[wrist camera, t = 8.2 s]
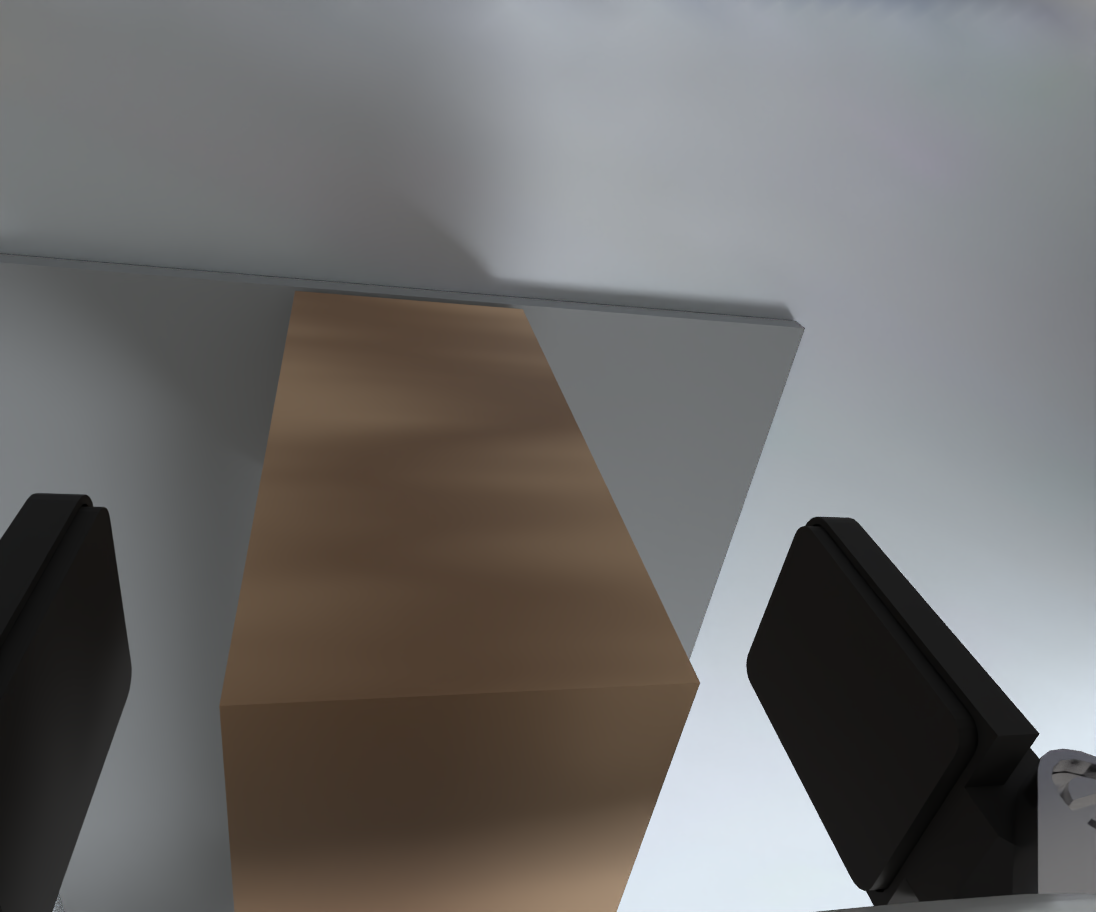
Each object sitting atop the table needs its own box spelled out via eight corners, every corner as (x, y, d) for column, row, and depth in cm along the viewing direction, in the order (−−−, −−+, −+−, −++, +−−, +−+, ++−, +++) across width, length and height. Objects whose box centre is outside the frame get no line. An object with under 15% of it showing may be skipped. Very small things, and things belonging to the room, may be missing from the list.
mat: (795, 320, 16) (804, 327, 16) (550, 1042, 33) (552, 1053, 32) (-102, 245, 12) (-114, 252, 12) (124, 1113, 28) (122, 1126, 28)
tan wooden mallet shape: (522, 308, 14) (700, 683, 7) (429, 920, 25) (461, 1335, 17) (295, 290, 13) (218, 705, 6) (296, 936, 24) (269, 1385, 16)
